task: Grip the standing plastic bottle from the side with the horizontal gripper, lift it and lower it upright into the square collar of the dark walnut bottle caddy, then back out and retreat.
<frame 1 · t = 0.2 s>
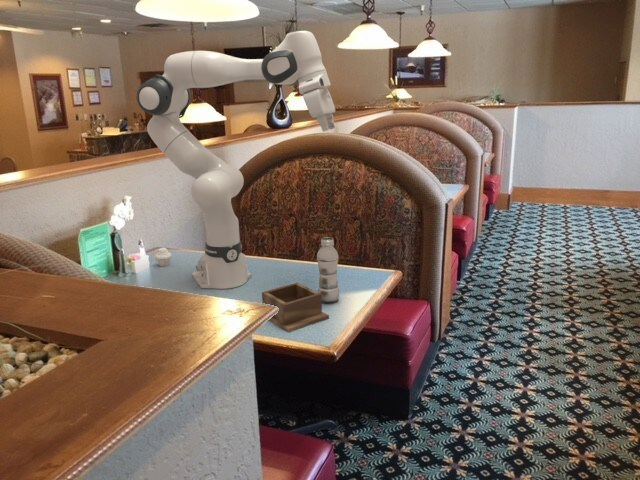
hand: (329, 129, 164), 51 cm above the table, tool tilted 15°, fingers open, 8 cm apart
bottle caddy: (292, 315, 159), on the table
plastic bottle: (328, 301, 169), on the table
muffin: (164, 265, 207), on the table
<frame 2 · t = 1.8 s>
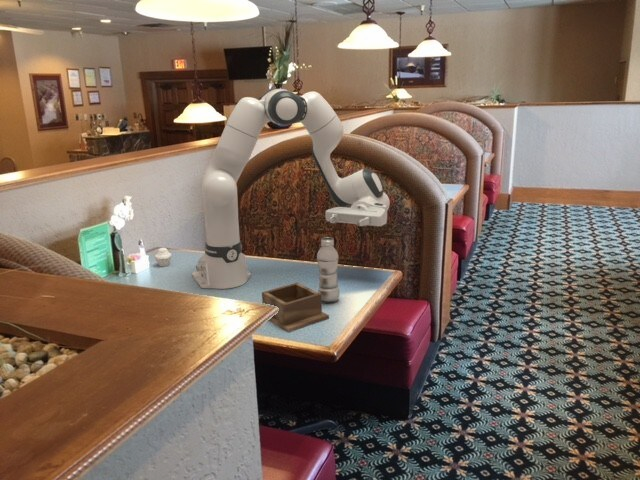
hand: (345, 222, 173), 22 cm above the table, tool horizontal, fingers open, 8 cm apart
nothing on the table moved.
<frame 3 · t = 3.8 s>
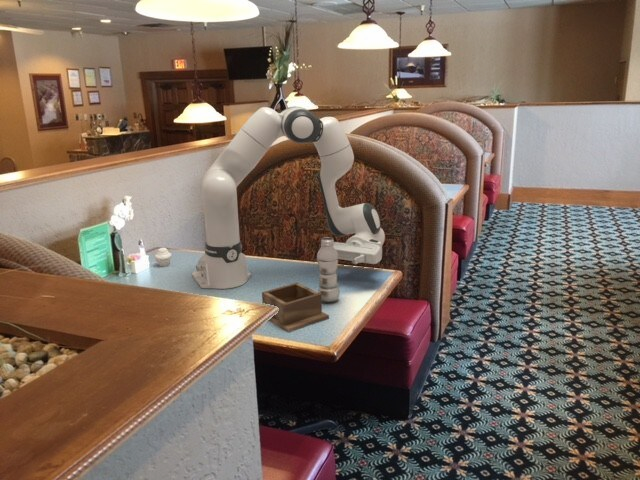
hand: (340, 259, 173), 11 cm above the table, tool horizontal, fingers open, 8 cm apart
nothing on the table moved.
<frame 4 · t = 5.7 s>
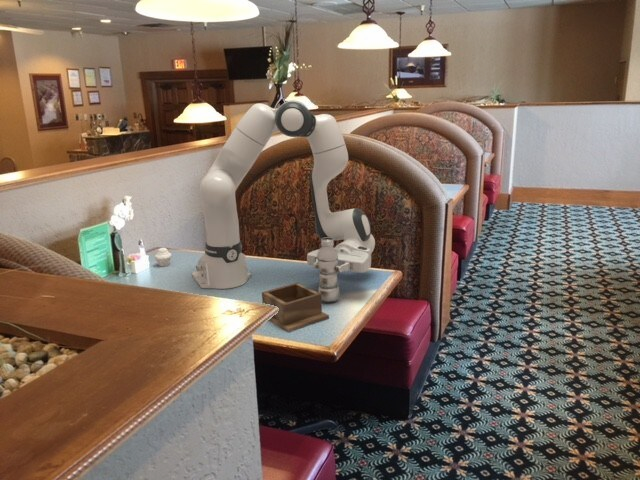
hand: (326, 268, 165), 11 cm above the table, tool horizontal, fingers closed on plastic bottle, 6 cm apart
plastic bottle: (328, 301, 169), on the table, touching gripper
everything else where it was.
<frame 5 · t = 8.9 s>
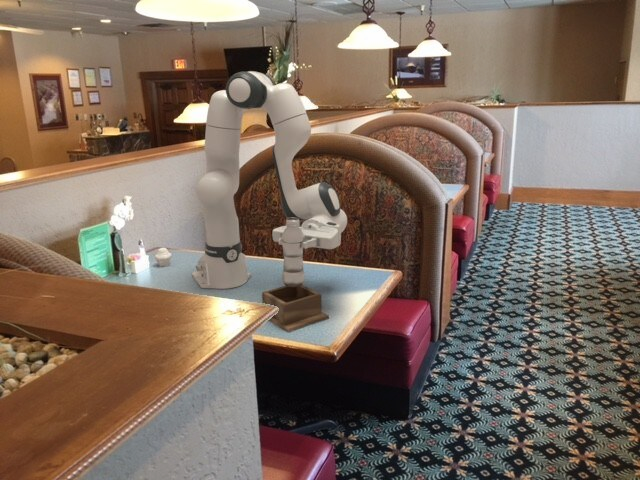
hand: (291, 244, 153), 22 cm above the table, tool horizontal, fingers closed on plastic bottle, 6 cm apart
plastic bottle: (293, 286, 158), point 9 cm above the table, touching gripper
everything else where it was.
when the fingers open (13 cm above the table, at t = 11.8 s): plastic bottle stays where it is, resting on bottle caddy.
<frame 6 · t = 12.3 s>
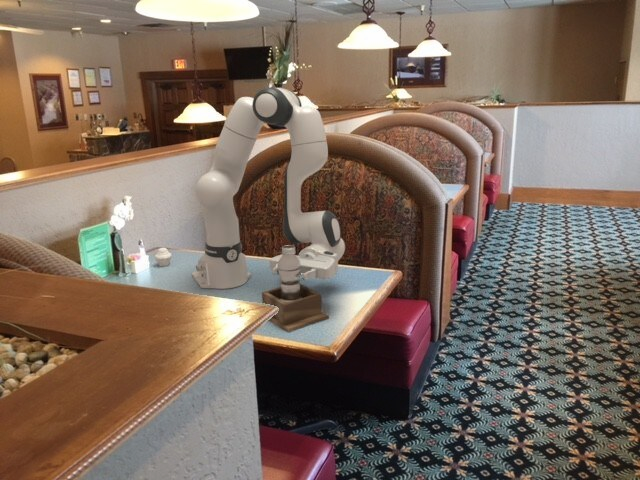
hand: (288, 274, 155), 13 cm above the table, tool horizontal, fingers open, 8 cm apart
plastic bottle: (291, 312, 159), point 1 cm above the table, touching bottle caddy
everything else where it was.
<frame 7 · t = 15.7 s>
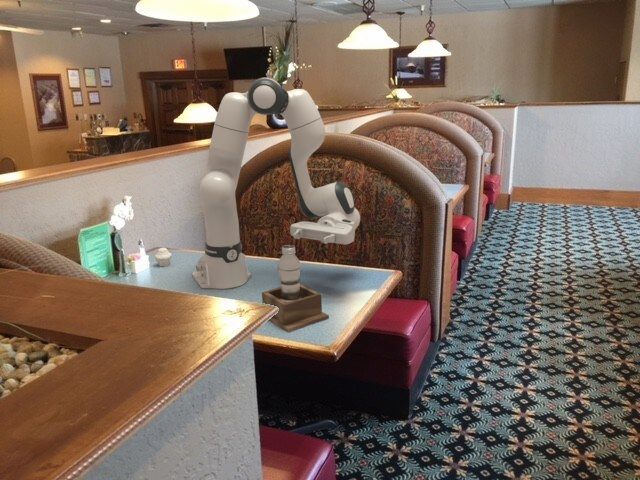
hand: (309, 238, 163), 20 cm above the table, tool horizontal, fingers open, 8 cm apart
nothing on the table moved.
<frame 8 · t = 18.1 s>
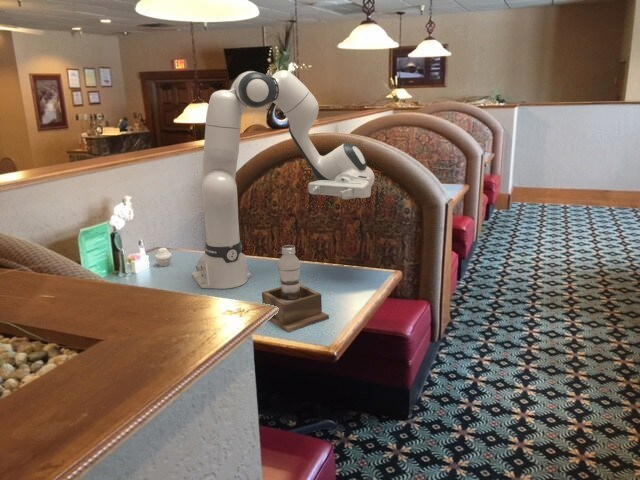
hand: (327, 193, 169), 32 cm above the table, tool horizontal, fingers open, 8 cm apart
nothing on the table moved.
at the end: plastic bottle 0.3 cm off-centre on the bottle caddy, point 0.8 cm above the bottle caddy's base; plastic bottle tilted 0°; the gripper is holding nothing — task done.
